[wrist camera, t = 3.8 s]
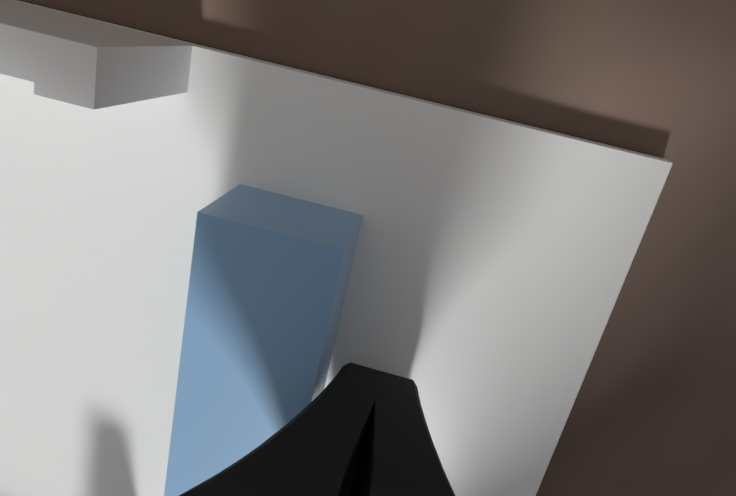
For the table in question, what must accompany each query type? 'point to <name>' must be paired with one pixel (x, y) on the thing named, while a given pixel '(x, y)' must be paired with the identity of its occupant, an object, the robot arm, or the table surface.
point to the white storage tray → (302, 181)
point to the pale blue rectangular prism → (255, 325)
